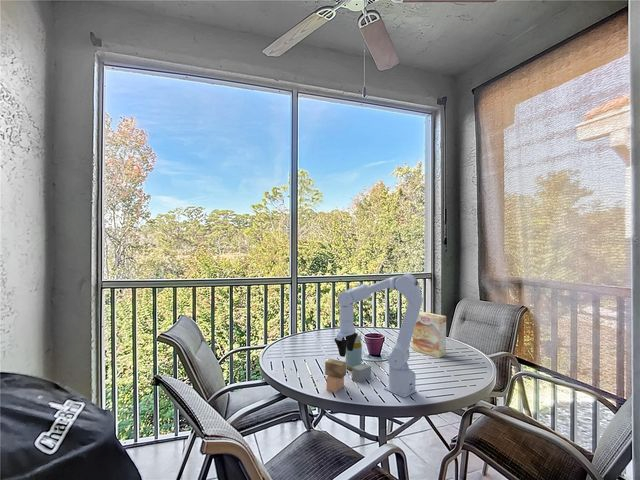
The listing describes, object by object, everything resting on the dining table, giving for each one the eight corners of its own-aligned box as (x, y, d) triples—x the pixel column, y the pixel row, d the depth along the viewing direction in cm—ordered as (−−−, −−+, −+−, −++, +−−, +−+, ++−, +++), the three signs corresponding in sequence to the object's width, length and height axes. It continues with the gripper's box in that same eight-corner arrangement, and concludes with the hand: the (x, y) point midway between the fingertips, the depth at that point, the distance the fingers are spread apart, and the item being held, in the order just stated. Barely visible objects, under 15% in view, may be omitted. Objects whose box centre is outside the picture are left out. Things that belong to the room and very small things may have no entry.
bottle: (363, 366, 152) (364, 333, 151) (357, 372, 145) (357, 337, 145) (349, 363, 155) (350, 331, 155) (343, 368, 149) (343, 334, 149)
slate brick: (363, 375, 143) (363, 363, 143) (370, 378, 140) (371, 366, 140) (352, 379, 138) (352, 367, 138) (359, 382, 135) (359, 370, 135)
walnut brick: (346, 375, 130) (346, 362, 130) (341, 378, 127) (341, 365, 127) (330, 371, 134) (330, 358, 134) (325, 374, 130) (325, 361, 130)
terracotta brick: (334, 383, 134) (334, 370, 134) (343, 385, 132) (344, 372, 132) (326, 390, 128) (326, 377, 128) (335, 392, 126) (336, 379, 126)
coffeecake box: (412, 350, 174) (412, 312, 174) (419, 347, 179) (420, 310, 179) (438, 358, 163) (439, 317, 163) (446, 354, 168) (446, 315, 168)
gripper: (344, 315, 147) (344, 346, 147) (329, 322, 134) (329, 357, 134) (360, 317, 143) (359, 349, 143) (346, 325, 130) (345, 360, 131)
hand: (346, 353), depth 138 cm, fingers open, 7 cm apart
